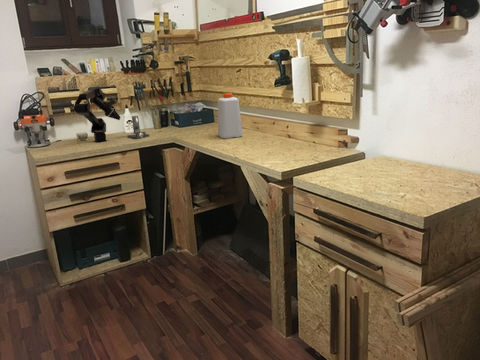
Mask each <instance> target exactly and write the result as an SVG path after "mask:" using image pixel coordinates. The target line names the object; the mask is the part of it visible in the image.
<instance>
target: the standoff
mask: <svg viewBox="0 0 480 360" xmlns="http://www.w3.org/2000/svg"><path fill="white" fill-rule="evenodd" d="M131 121H132V128H133V133H134V134H135V133H139V132H141V127H140V122H139V121H140V120H139V115H133V116H131Z"/></svg>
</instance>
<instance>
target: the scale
mask: <svg viewBox="0 0 480 360" xmlns="http://www.w3.org/2000/svg"><path fill="white" fill-rule="evenodd" d="M135 135H136V136H133V135H131V134H127V135H126V136H127V138H129V139H133V140H139V139H140V140H141V139H145V138H147V137H150V134H149V133H146V131H140V132H139V133H135Z"/></svg>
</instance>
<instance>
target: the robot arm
mask: <svg viewBox="0 0 480 360" xmlns="http://www.w3.org/2000/svg"><path fill="white" fill-rule="evenodd" d="M106 98H107V95H106V93H105V92H103V90H102V88H100V86H89V87H88V89H87V90H86V91H84V92H82V93H80V94H79V95H78V97H77V98H76V100H75V102H74V111H75V113H76V114H77V115H79V116H83V117H85V119H87V120H88V121H89V122H90V123H91V129H90V133H91V134H93V136H94V140H93V142H95V143H103V142H107V141H108V140H107V135H106V132H107V124H106V121H105V120H104V119H103V118H102V117H100V118H99V117H97V116H96V115H94V113H93V112H92V111H91V104H93V105H95V106H96V107H98V109H99V110H102V112H103V113H104V116H105V117H108V118H110V119H114V120H117V121H120V120H121V118H122V117H121V116H120V114H119V112H117V111H116V107H115V106H114V105H115V104H117V99H115V98H112V97H111V98H109V101H105V100H106ZM82 101H86V103H82Z"/></svg>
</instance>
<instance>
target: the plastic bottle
mask: <svg viewBox="0 0 480 360" xmlns="http://www.w3.org/2000/svg"><path fill="white" fill-rule="evenodd" d="M233 95H234V94H233V93H231V92H229V93H228V92H227V93H223V97H219V98H218V100H217V135H218V136H219V137H220V138H221V139H232V138H233V137H235V138H241V137H242V136H243V135H244V133H243V126H242V117H241V109H240V100H239V98H237V97H236V96H235V97H234V96H233Z"/></svg>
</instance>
